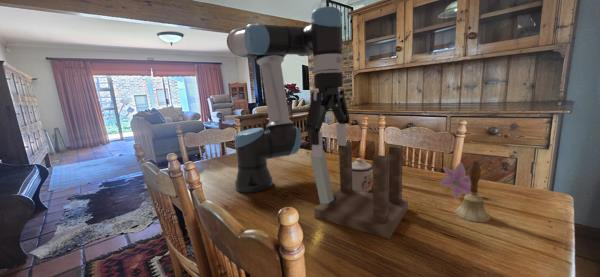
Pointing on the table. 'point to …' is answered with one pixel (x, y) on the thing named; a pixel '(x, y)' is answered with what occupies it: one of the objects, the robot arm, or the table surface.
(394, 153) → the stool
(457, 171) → the lily
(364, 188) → the teacup with lid
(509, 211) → the table surface
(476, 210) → the hand bell
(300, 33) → the robot arm
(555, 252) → the table surface
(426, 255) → the table surface
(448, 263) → the table surface
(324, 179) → the folding leg
